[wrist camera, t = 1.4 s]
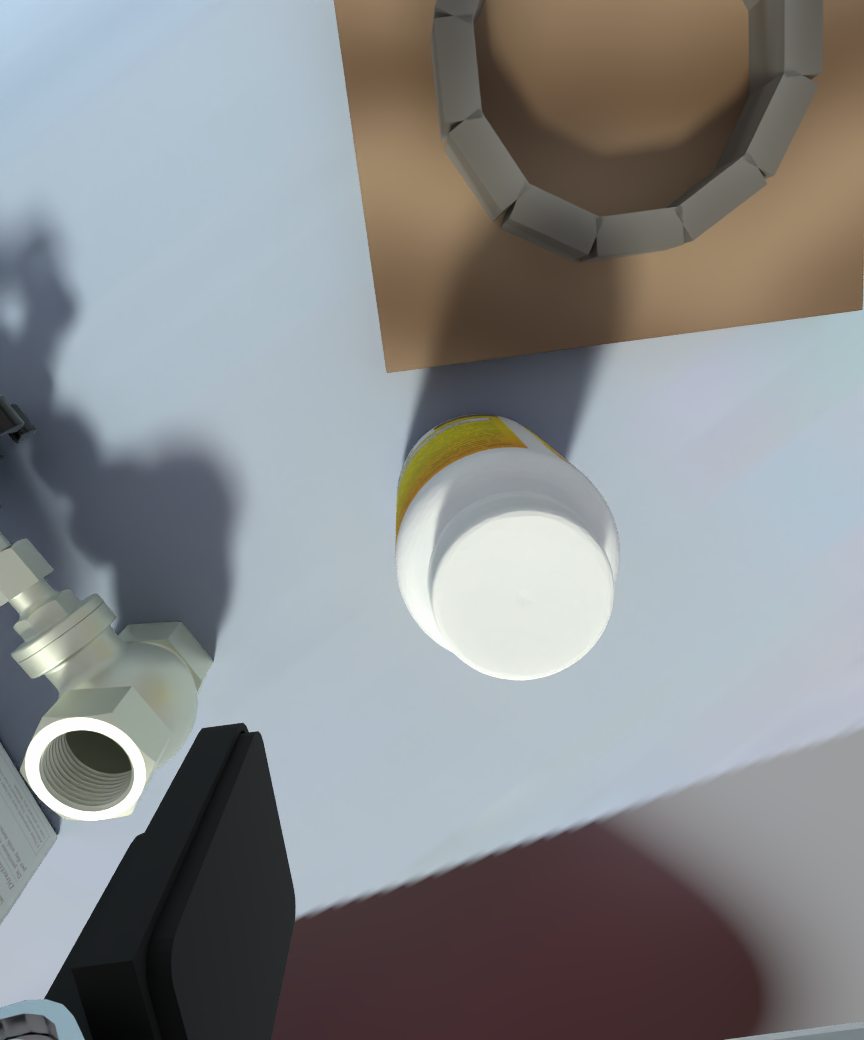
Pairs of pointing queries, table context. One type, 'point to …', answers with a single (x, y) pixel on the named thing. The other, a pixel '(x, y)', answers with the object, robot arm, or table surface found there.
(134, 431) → the table surface
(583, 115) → the collar plate
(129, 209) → the table surface
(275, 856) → the robot arm
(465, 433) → the supplement bottle
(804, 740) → the table surface
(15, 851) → the supplement box
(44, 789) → the valve
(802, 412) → the table surface
